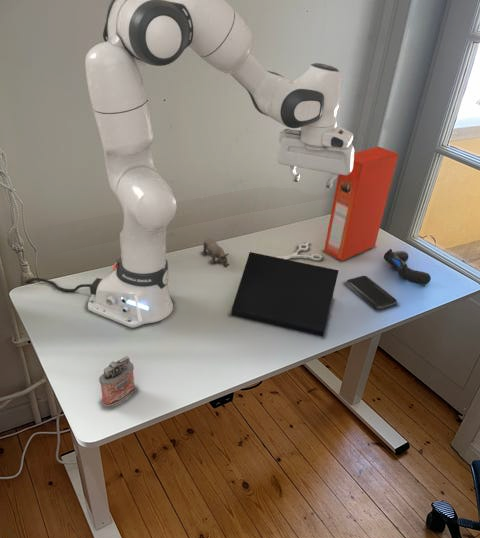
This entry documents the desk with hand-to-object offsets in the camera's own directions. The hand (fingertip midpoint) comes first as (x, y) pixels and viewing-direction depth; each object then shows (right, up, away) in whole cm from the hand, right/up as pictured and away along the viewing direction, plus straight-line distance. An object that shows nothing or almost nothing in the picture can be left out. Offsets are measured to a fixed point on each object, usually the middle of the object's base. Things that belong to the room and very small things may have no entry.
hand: (312, 184), depth 138 cm
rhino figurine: (-27, -19, +19) cm, 38 cm away
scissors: (-3, -17, +25) cm, 30 cm away
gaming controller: (+32, -23, +22) cm, 45 cm away
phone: (+19, -30, +11) cm, 37 cm away
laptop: (-8, -34, +3) cm, 35 cm away
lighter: (-46, -54, -28) cm, 77 cm away
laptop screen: (-8, -29, -2) cm, 30 cm away
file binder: (+17, -13, +32) cm, 38 cm away
